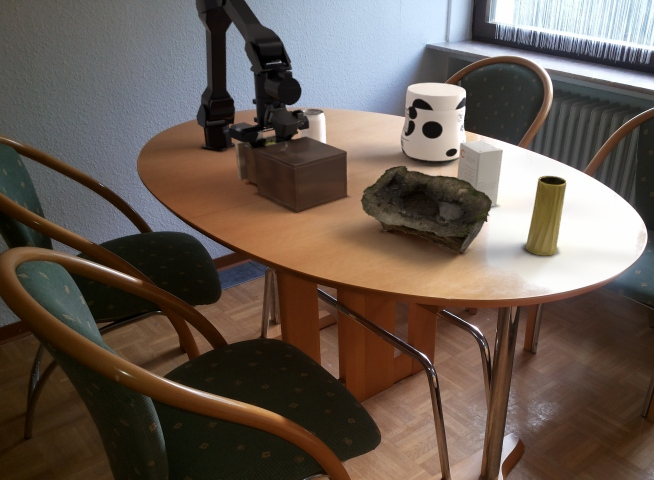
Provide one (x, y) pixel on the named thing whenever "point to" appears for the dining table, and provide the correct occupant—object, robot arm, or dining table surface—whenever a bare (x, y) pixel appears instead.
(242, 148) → the drawer
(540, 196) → the vase
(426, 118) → the milk container
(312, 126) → the can
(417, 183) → the grey rough hollow block
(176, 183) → the dining table surface
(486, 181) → the small box
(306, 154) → the cabinet
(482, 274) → the dining table surface
